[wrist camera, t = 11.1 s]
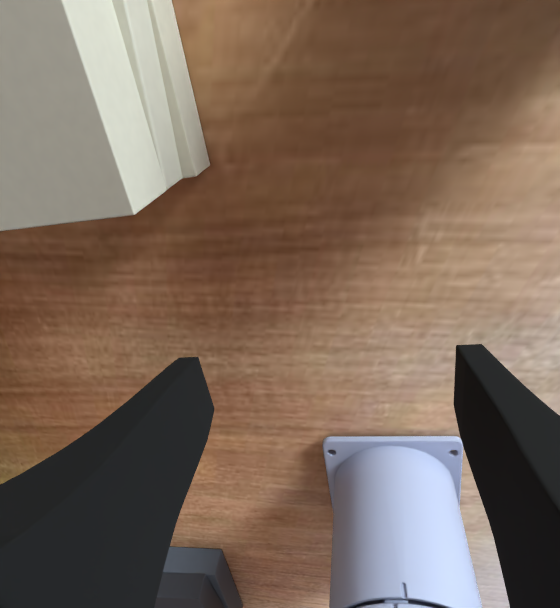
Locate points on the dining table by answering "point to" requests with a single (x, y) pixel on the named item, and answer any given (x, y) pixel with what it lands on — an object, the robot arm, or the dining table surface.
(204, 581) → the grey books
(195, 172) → the white books
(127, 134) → the white book
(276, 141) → the dining table surface
